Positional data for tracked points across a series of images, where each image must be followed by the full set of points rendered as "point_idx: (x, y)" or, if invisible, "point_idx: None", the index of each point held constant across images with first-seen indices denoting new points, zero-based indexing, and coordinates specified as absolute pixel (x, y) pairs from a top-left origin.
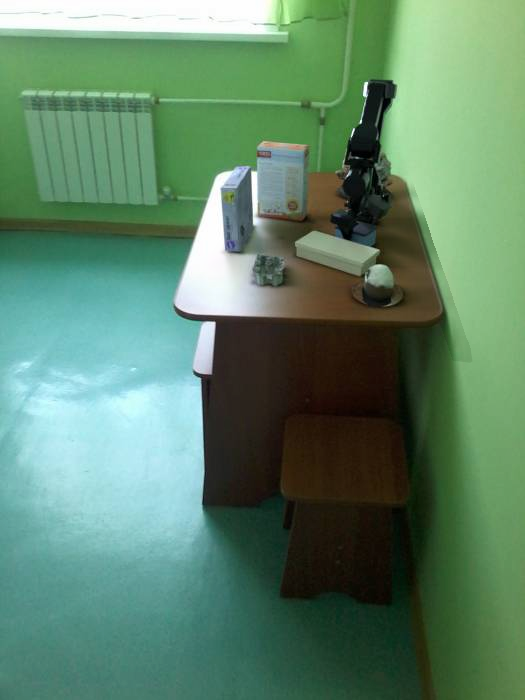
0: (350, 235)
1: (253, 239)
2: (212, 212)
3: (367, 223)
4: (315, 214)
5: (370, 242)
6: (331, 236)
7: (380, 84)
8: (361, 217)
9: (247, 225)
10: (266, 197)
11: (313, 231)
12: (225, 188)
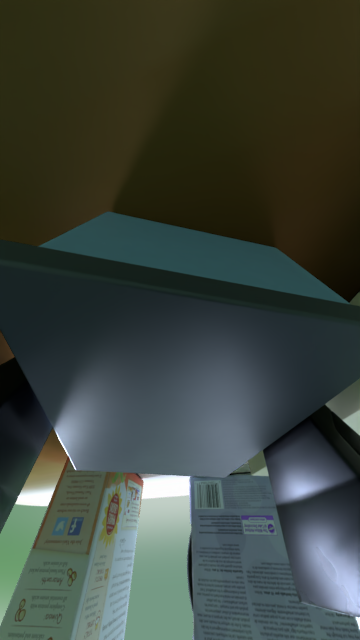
0: (328, 409)
1: (245, 468)
2: (167, 496)
3: (12, 382)
4: (46, 444)
5: (186, 237)
6: None
7: None
8: (8, 470)
9: (258, 513)
10: (131, 539)
11: (262, 474)
12: None
